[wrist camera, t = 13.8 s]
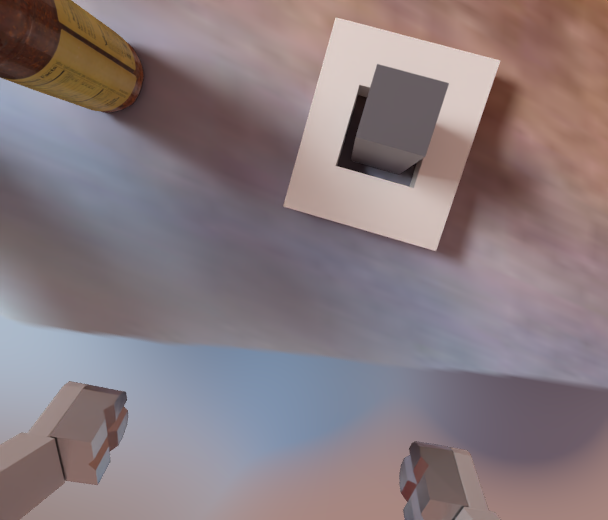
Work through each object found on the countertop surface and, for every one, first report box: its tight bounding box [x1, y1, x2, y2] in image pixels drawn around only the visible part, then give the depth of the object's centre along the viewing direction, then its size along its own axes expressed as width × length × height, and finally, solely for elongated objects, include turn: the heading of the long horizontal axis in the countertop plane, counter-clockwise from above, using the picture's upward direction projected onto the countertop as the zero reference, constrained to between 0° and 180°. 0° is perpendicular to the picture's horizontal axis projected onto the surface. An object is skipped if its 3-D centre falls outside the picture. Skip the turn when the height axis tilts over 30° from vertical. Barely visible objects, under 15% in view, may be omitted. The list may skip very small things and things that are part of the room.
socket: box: [283, 18, 500, 251], centre depth 30 cm, size 12×14×2 cm
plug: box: [351, 64, 449, 174], centre depth 27 cm, size 4×4×10 cm
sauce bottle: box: [0, 0, 144, 112], centre depth 23 cm, size 7×6×20 cm
